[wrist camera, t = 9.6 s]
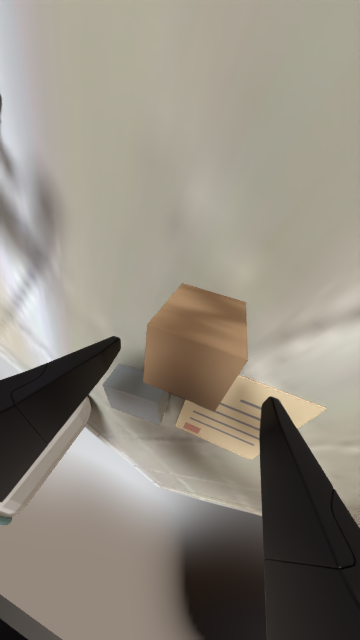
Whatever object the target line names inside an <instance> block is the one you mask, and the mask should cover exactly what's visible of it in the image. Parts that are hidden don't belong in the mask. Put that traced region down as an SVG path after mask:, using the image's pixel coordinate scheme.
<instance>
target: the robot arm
mask: <svg viewBox="0 0 360 640" xmlns="http://www.w3.org/2000/svg"><path fill="white" fill-rule="evenodd" d="M120 349H121V340H120V338H118V337H116V336H112V337H110V338H107V339H105V340H102V341H100V342H98V343H95V344H93V345H90V346H88V347H85V348H83V349H80V350H78V351H75V352H73V353H71V354H68V355H66V356H63V357H61V358H58V359H56V360H53V361H51V362H49V363H46V364H43V365H41V366H38V367H36V368H33V369H31V370H28V371H25V372H23V373H20V374H17V375H14V376H11V377H8V378H5V379H2V380H0V502H3V501H4V500H5V499H6V497H7V496H8V495H9V494H10V492H11V491H12V490H13V489H14V487H15V486H16V485H17V484H18V482H19V481H20V480H21V479H22V477H23V476H24V475H25V474H26V472H27V471H28V470H29V469H30V467H31V466H32V465H33V463H34V462H35V461H36V460H37V458H38V457H39V456H40V455H41V453H42V452H43V451H44V450H45V448H46V447H47V446H48V444H49V443H50V442H51V441H52V439H53V438H54V437H55V436H56V434H57V433H58V432H59V431H60V429H61V428H62V427H63V426H64V424H65V423H66V422H67V421H68V419H69V418H70V417H71V416H72V414H73V413H74V412H75V411H76V409H77V408H78V407H79V406H80V404H81V403H82V402H83V401H84V399H85V398H86V397H87V395H88V394H89V393H90V392H91V390H92V389H93V388H94V387H95V385H96V384H97V383H98V382H99V380H100V379H101V378H102V377H103V375H104V374H105V373H106V371H107V370H108V368H109V367H110V365H111V364H112V362H113V361H114V359H115V357H116V356H117V354H118V353H119V351H120ZM259 442H260V468H261V494H262V519H263V546H264V558H265V559H264V576H265V599H266V600H265V602H266V627H267V640H360V528H359V527H358V525H357V524H356V522H355V521H354V519H353V517H352V516H351V514H350V513H349V511H348V510H347V508H346V507H345V505H344V503H343V502H342V500H341V499H340V497H339V495H338V494H337V492H336V491H335V489H333V486H332V484H331V483H330V481H329V479H328V478H327V476H326V475H325V473H324V471H323V470H322V468H321V466H320V465H319V463H318V462H317V460H316V458H315V457H314V455H313V454H312V452H311V450H310V449H309V447H308V445H307V444H306V442H305V441H304V439H303V437H302V436H301V434H300V433H299V431H298V429H297V428H296V426H295V425H294V423H293V421H292V420H291V418H290V416H289V415H288V413H287V412H286V410H285V408H284V407H283V405H282V404H281V402H280V400H279V399H277V398H275V397H272V396H269V397H268V398H267V399H266V400H265V401H264V402H263V404H262V407H261V419H260V434H259ZM0 640H62V639H61V638H59V637H58V636H56V635H55V634H54V633H52V632H51V631H50V630H48V629H47V628H46V627H44V626H43V625H41V624H40V623H39V622H37V621H36V620H35V619H33V618H32V617H30V616H29V615H28V614H26V613H25V612H24V611H22V610H21V609H20V608H18V607H17V606H15V605H14V604H13V603H11V602H10V601H8V600H7V599H6V598H4V597H3V596H2V595H0Z"/></svg>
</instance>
